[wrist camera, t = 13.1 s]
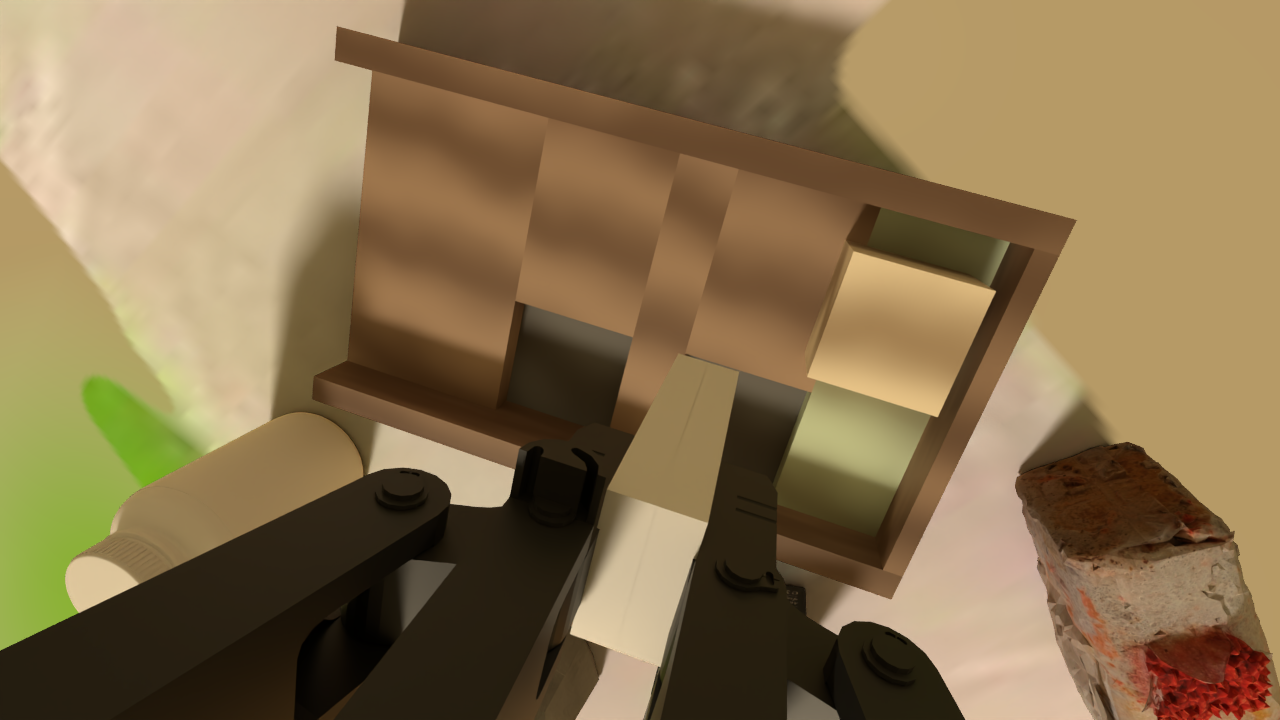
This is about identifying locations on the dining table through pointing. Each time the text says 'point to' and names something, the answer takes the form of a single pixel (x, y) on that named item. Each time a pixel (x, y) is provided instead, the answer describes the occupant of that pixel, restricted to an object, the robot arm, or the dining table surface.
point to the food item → (1146, 592)
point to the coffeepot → (569, 682)
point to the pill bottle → (215, 503)
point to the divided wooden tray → (655, 290)
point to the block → (895, 327)
